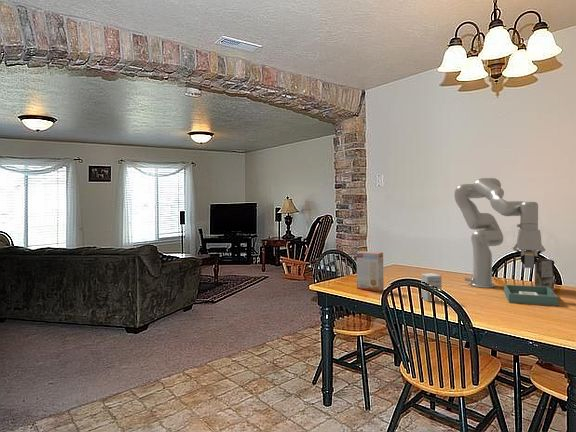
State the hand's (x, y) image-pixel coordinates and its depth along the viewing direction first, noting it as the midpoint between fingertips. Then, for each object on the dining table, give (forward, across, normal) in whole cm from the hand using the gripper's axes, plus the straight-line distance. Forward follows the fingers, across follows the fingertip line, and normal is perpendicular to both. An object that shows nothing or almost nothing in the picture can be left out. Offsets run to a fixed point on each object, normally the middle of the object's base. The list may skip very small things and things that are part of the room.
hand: (528, 263), depth 202 cm
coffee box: (+17, +11, +23) cm, 31 cm away
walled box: (+17, 0, -2) cm, 17 cm away
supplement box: (+17, -44, -19) cm, 51 cm away
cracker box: (+17, -77, -5) cm, 80 cm away
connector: (+2, 0, 0) cm, 2 cm away
